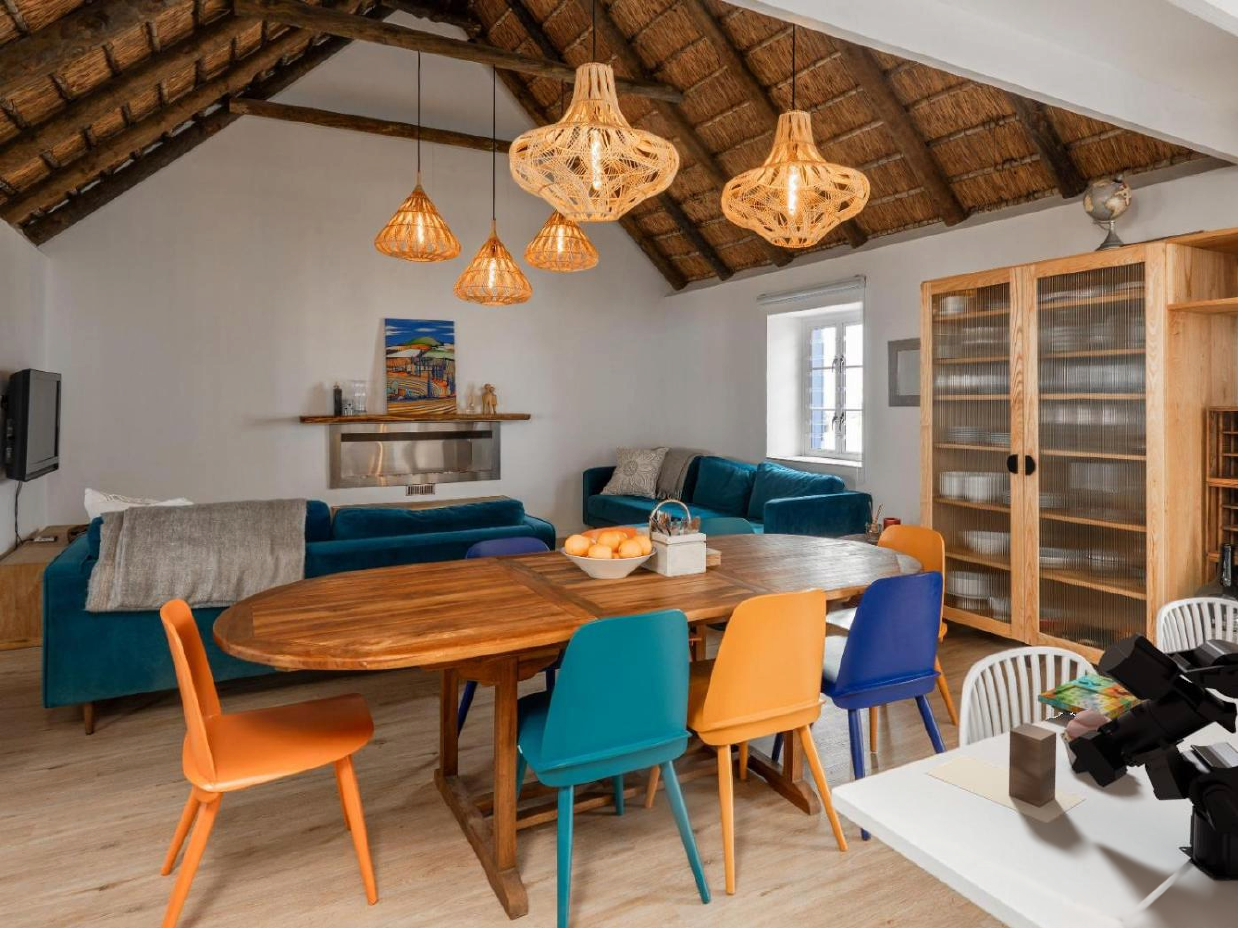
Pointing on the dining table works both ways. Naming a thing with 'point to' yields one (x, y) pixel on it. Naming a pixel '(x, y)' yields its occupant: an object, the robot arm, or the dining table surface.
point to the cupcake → (1082, 727)
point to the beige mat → (999, 787)
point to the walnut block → (1032, 764)
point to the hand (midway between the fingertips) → (1075, 769)
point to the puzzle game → (1090, 696)
